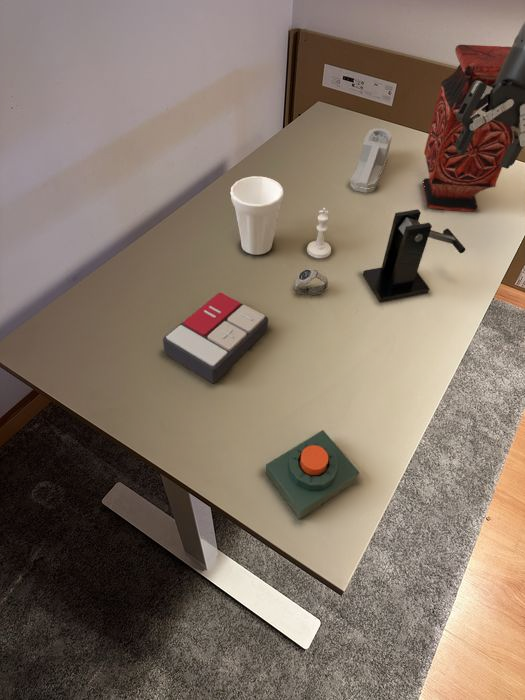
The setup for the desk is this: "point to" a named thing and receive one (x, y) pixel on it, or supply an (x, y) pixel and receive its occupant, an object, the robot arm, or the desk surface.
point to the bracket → (401, 261)
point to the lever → (435, 234)
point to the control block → (311, 476)
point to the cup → (257, 211)
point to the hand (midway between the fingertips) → (481, 160)
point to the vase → (486, 145)
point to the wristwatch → (306, 278)
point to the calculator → (215, 336)
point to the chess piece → (320, 239)
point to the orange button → (314, 460)
